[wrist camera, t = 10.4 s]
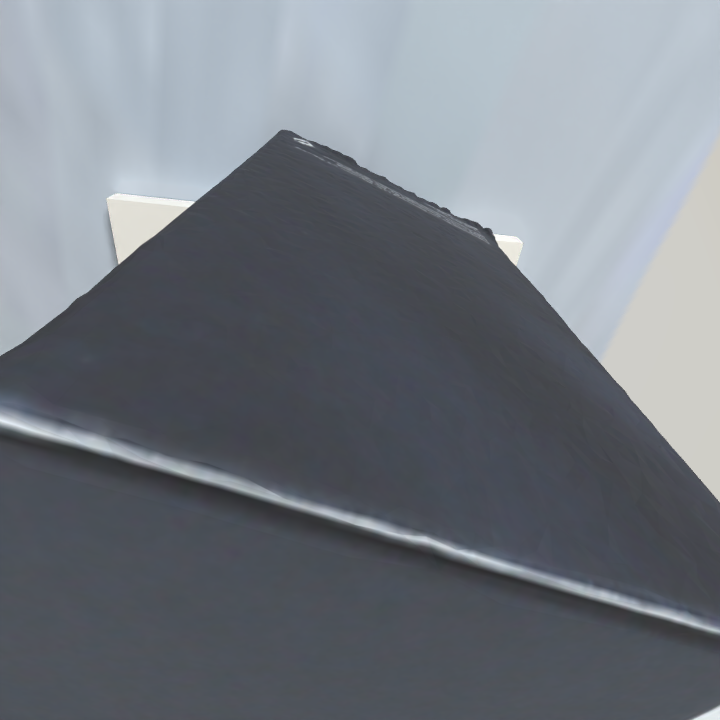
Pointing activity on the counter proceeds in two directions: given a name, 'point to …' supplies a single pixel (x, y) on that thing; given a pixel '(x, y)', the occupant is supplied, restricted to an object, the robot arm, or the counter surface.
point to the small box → (339, 482)
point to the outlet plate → (150, 215)
